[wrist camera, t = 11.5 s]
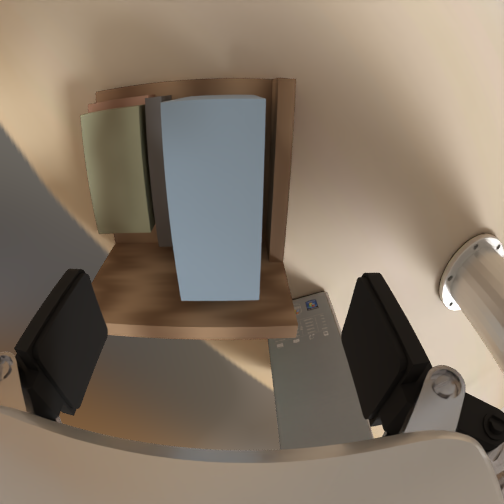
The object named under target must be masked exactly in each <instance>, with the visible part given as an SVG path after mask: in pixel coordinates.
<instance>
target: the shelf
mask: <svg viewBox="0 0 504 504" xmlns="http://www.w3.org/2000/svg"><path fill="white" fill-rule="evenodd" d="M295 88H296V79H287V78H276V79H246V78H223V79H195V80H180V81H168V82H158V83H149V84H141V85H134V86H128V87H121V88H115V89H110V90H104V91H99V92H96V103H94V104H89V105H88V111H89V113H87V114H84V115H80V117H81V128H82V138H83V147H84V155H85V163H86V169H87V176H88V182H89V188H90V194H91V199H92V204H93V210H94V214H95V219H96V224H97V228H98V233H99V234H110V233H114V237H115V242H116V244H115V245H114V247H113V249H112V250H111V252H110V253H109V255H108V257H107V258H106V260H105V261H104V263H103V265H102V266H101V268H100V270H99V271H98V273H97V275H96V277H95V278H94V280H93V282H92V283H91V284H92V287H93V290H94V293H95V296H96V299H97V301H98V304H99V307H100V310H101V312H102V315H103V318H104V320H105V323H106V326H107V329H108V335H117V336H132V337H148V338H168V339H208V340H236V339H276V338H296V335H297V329H298V322H297V318H296V314H295V310H294V305H293V301H292V297H291V293H290V289H289V285H288V280H287V276H286V272H285V268H284V264H283V257H284V246H285V235H286V224H287V212H288V199H289V186H290V173H291V158H292V143H293V126H294V108H295ZM205 95H256V96H259V97H262V98H265V99H266V114H265V150H264V183H263V213H262V242H261V268H260V294H259V300H241V301H181V296H180V290H179V284H178V277H177V271H176V264H175V257H174V250H173V243H172V235H171V227H170V219H169V210H168V201H167V191H166V180H165V169H164V156H163V142H162V125H161V102H165V101H170V100H175V99H179V98H184V97H190V96H205Z"/></svg>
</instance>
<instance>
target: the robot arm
mask: <svg viewBox="0 0 504 504" xmlns="http://www.w3.org/2000/svg"><path fill="white" fill-rule="evenodd" d="M439 295H440V298H441V301H442V302H443V304H444V305H445V306H446V307H447V308H449V309H451V310H460V309H461V310H462V312H463V313H464V314H465V316H466V317H467V319H468V320H469V321H470V323H471V324H472V326H473V327H474V329H475V330H476V332H477V333H478V335H479V336H480V338H481V339H482V341H483V342H484V344H485V345H486V347H487V348H488V350H489V351H490V353H491V354H492V356H493V358H494V359H495V361H496V363H497V364H498V366H499V367H500V369H501V371H502V373H503V374H504V250H503V246H502V243H501V242H500V240H499V239H498V238H496V237H495V236H494V235H491V234H481V235H478V236H476V237H474V238H472V239H471V240H469V241H468V242H466V243H465V244H464V245H463V246H462V247H461V248H460V249H459V250H458V251H457V252H456V253H455V254H454V256H453V257H452V259H451V260H450V261H449V263H448V265H447V267H446V268H445V271H444V273H443V275H442V278H441V282H440V287H439ZM107 336H108V329H107V326H106V323H105V320H104V318H103V315H102V312H101V310H100V307H99V304H98V301H97V299H96V296H95V293H94V290H93V287H92V284H91V281H90V278H89V275H88V274H86V273H85V272H84V270H82V269H68V270H67V271H66V272H65V274H64V275H63V276H62V278H61V279H60V280H59V282H58V283H57V284H56V286H55V287H54V288H53V290H52V291H51V293H50V294H49V295H48V297H47V298H46V300H45V301H44V303H43V304H42V306H41V307H40V308H39V310H38V311H37V313H36V315H35V316H34V317H33V319H32V321H31V322H30V324H29V325H28V327H27V328H26V330H25V332H24V333H23V335H22V336H21V338H20V340H19V341H18V343H17V344H16V346H15V348H14V349H15V350H16V352H17V354H16V356H14V355H13V354H12V353H9V352H1V353H0V504H504V413H503V412H502V411H501V410H499V409H498V408H496V407H494V406H491V405H489V404H487V403H486V402H484V401H482V400H480V399H478V398H476V397H474V396H472V395H470V394H468V393H466V392H465V382H464V379H463V378H462V376H461V375H460V374H459V373H458V372H457V371H456V370H455V369H453V368H451V367H449V366H445V365H438V366H435V367H432V365H431V363H430V361H429V359H428V357H427V355H426V353H425V351H424V349H423V347H422V345H421V343H420V341H419V340H418V338H417V336H416V334H415V332H414V330H413V328H412V326H411V325H410V323H409V321H408V319H407V317H406V316H405V314H404V312H403V310H402V309H401V307H400V305H399V303H398V302H397V300H396V298H395V297H394V295H393V293H392V291H391V290H390V288H389V286H388V285H387V283H386V281H385V280H384V278H383V276H382V275H381V274H380V273H364V274H363V275H362V277H359V278H358V279H357V282H356V285H355V289H354V293H353V296H352V300H351V303H350V307H349V310H348V314H347V317H346V320H345V324H344V327H343V330H342V334H341V341H342V345H343V348H344V351H345V354H346V358H347V361H348V364H349V368H350V371H351V374H352V378H353V381H354V385H355V388H356V392H357V395H358V399H359V403H360V406H361V410H362V414H363V417H364V418H365V419H368V420H369V424H370V427H372V426H377V425H382V426H383V429H384V431H385V432H384V434H383V436H382V437H380V438H375V439H369V440H363V441H357V442H351V443H344V444H336V445H328V446H320V447H310V448H298V449H283V450H253V451H252V450H248V451H247V450H240V451H239V450H211V449H196V448H184V447H175V446H166V445H158V444H151V443H145V442H139V441H133V440H127V439H122V438H117V437H112V436H108V435H103V434H99V433H95V432H91V431H87V430H83V429H79V428H76V427H72V426H68V425H65V424H62V423H61V420H60V417H59V414H60V411H62V412H63V413H66V414H70V415H74V414H75V411H76V409H78V408H79V407H80V406H81V403H82V400H83V397H84V395H85V392H86V389H87V386H88V384H89V381H90V378H91V376H92V373H93V371H94V368H95V366H96V363H97V360H98V358H99V355H100V353H101V350H102V348H103V346H104V343H105V341H106V339H107Z"/></svg>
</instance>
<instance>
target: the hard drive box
mask: <svg viewBox="0 0 504 504" xmlns="http://www.w3.org/2000/svg"><path fill="white" fill-rule="evenodd" d="M292 301H293V305H294V310H295V314H296V318H297V322H298V329H297V335H296V338H276V339H268V345H269V354H270V362H271V370H272V379H273V387H274V396H275V405H276V414H277V423H278V432H279V442H280V450H283V449H298V448H310V447H320V446H328V445H336V444H344V443H351V442H357V441H363V440H369V439H374V438H373V434H372V430H371V427H370V424H369V420H368V419H365V418H364V417H363V414H362V410H361V406H360V403H359V399H358V395H357V392H356V388H355V385H354V381H353V378H352V374H351V371H350V368H349V364H348V361H347V358H346V354H345V351H344V348H343V345H342V341H341V334H342V332H341V329H340V326H339V323H338V320H337V318H336V315H335V312H334V309H333V306H332V303H331V301H330V298H329V295H328V293H327V292H320V293H316V294H313V295H310V296H306V297H303V298H299V299H295V300H292Z"/></svg>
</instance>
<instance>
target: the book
mask: <svg viewBox="0 0 504 504" xmlns="http://www.w3.org/2000/svg"><path fill="white" fill-rule="evenodd" d="M265 114H266V99H265V98H262V97H259V96H256V95H205V96H190V97H184V98H179V99H175V100H170V101H165V102H161V125H162V142H163V156H164V169H165V180H166V191H167V201H168V210H169V219H170V227H171V235H172V243H173V250H174V257H175V264H176V271H177V277H178V284H179V290H180V296H181V301H241V300H259V294H260V268H261V242H262V213H263V183H264V150H265Z"/></svg>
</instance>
